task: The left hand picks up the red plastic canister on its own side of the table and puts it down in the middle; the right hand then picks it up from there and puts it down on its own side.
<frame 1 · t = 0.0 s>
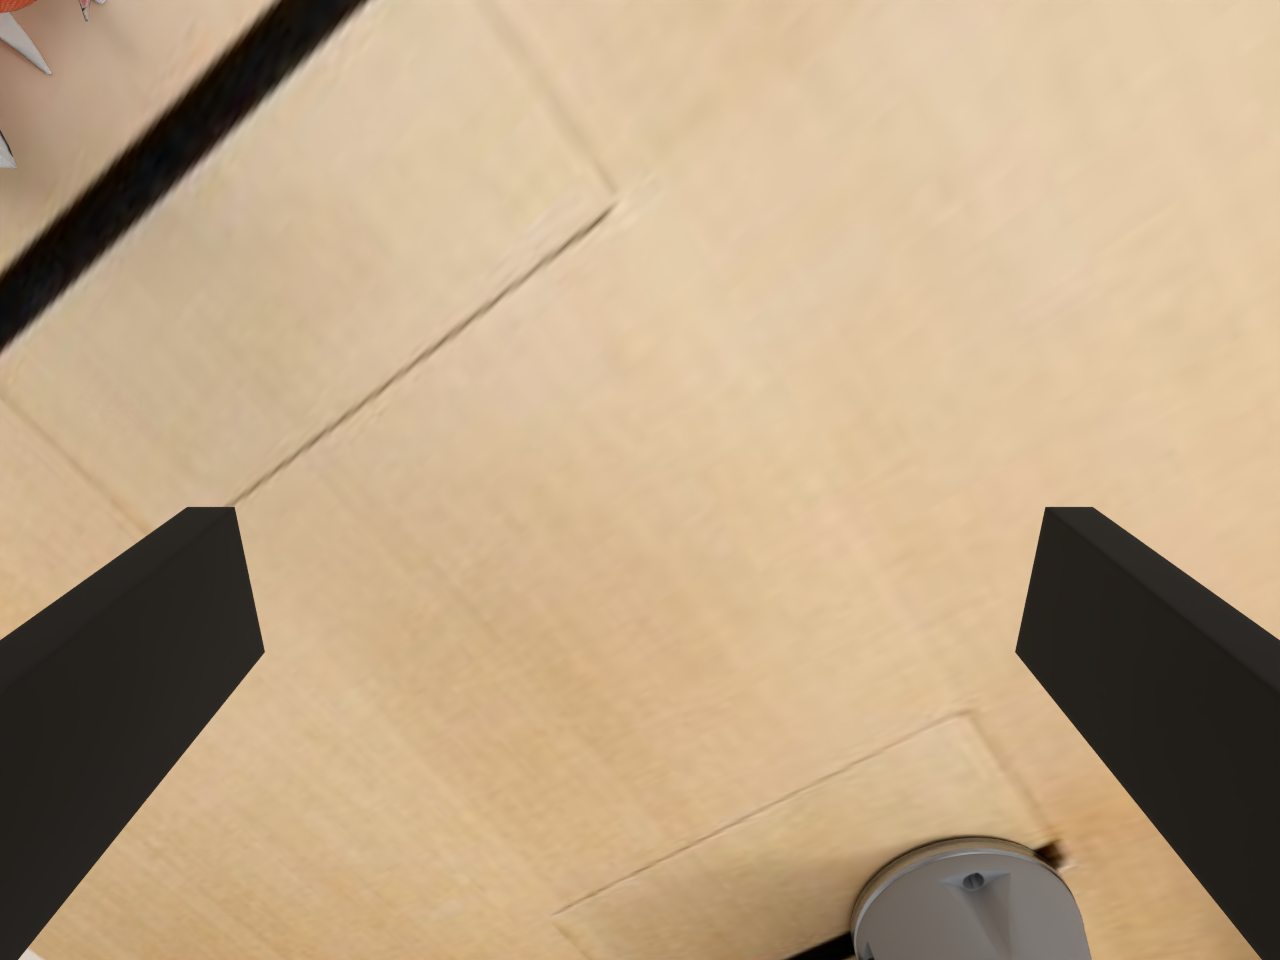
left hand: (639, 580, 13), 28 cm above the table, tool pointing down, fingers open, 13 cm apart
fish: (32, 39, 34), on the table
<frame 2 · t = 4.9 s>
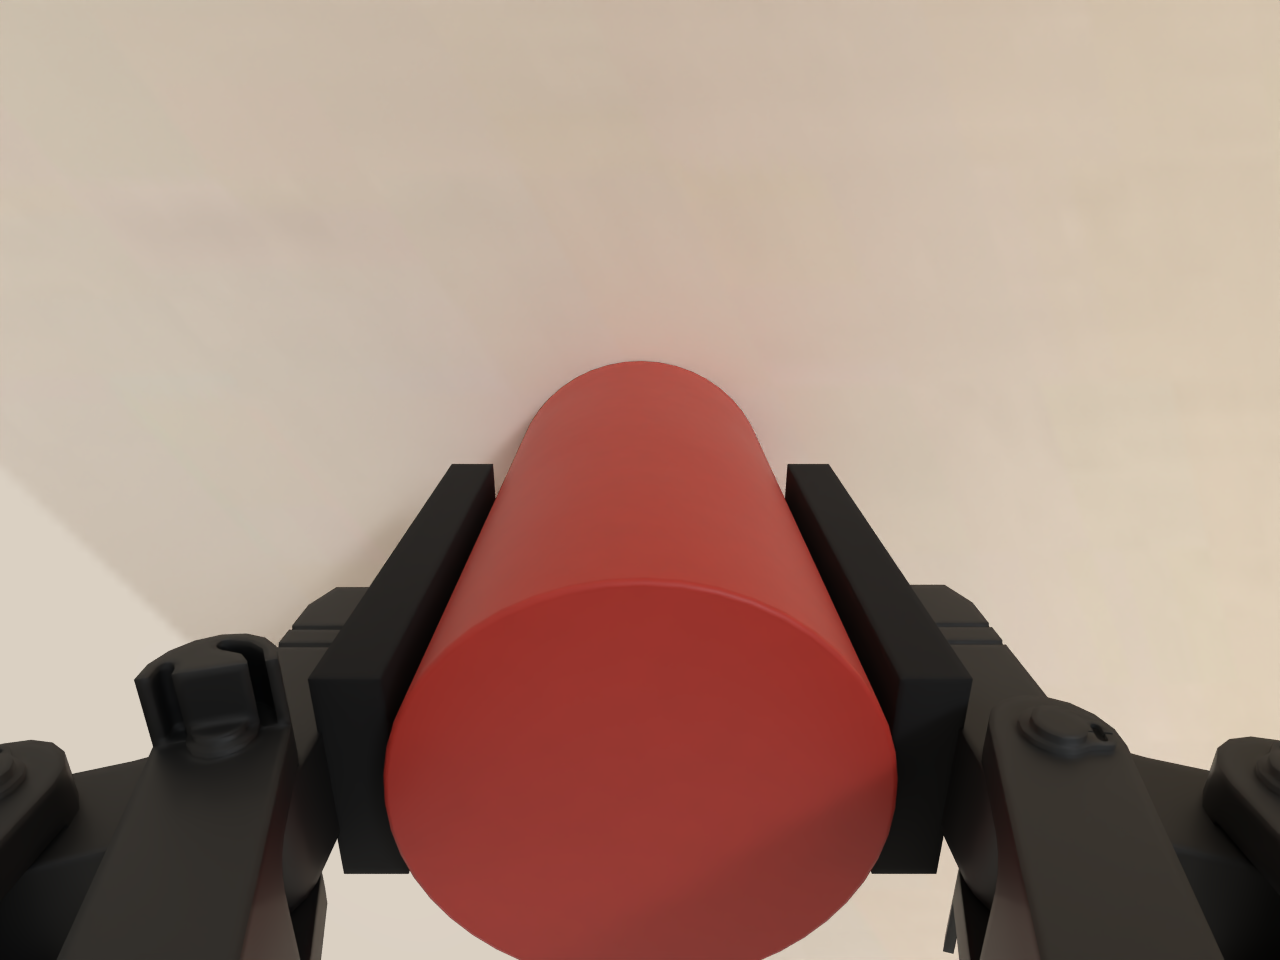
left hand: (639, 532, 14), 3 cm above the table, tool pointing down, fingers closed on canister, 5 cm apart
canister: (640, 481, 17), on the table, touching left hand
when the left hand's fingers open (4 cm above the table, at t = 13.8 s): canister drops 2 cm, on the table.
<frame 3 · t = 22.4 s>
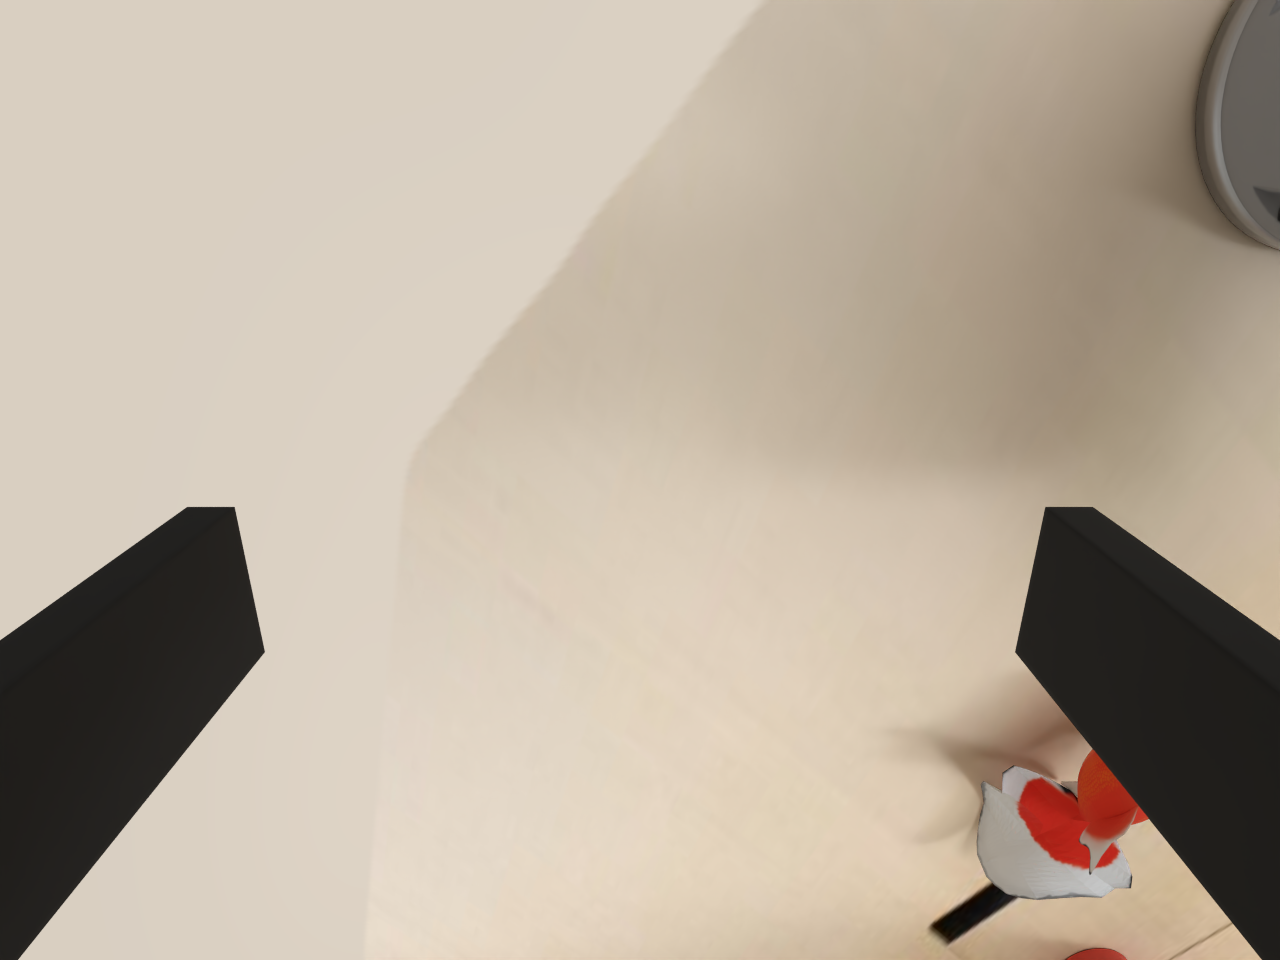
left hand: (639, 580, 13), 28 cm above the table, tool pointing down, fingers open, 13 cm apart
fish: (1050, 763, 49), on the table
when the right hand's fingers open (4 cm above the table, at t = 33.4 s): canister drops 2 cm, on the table.
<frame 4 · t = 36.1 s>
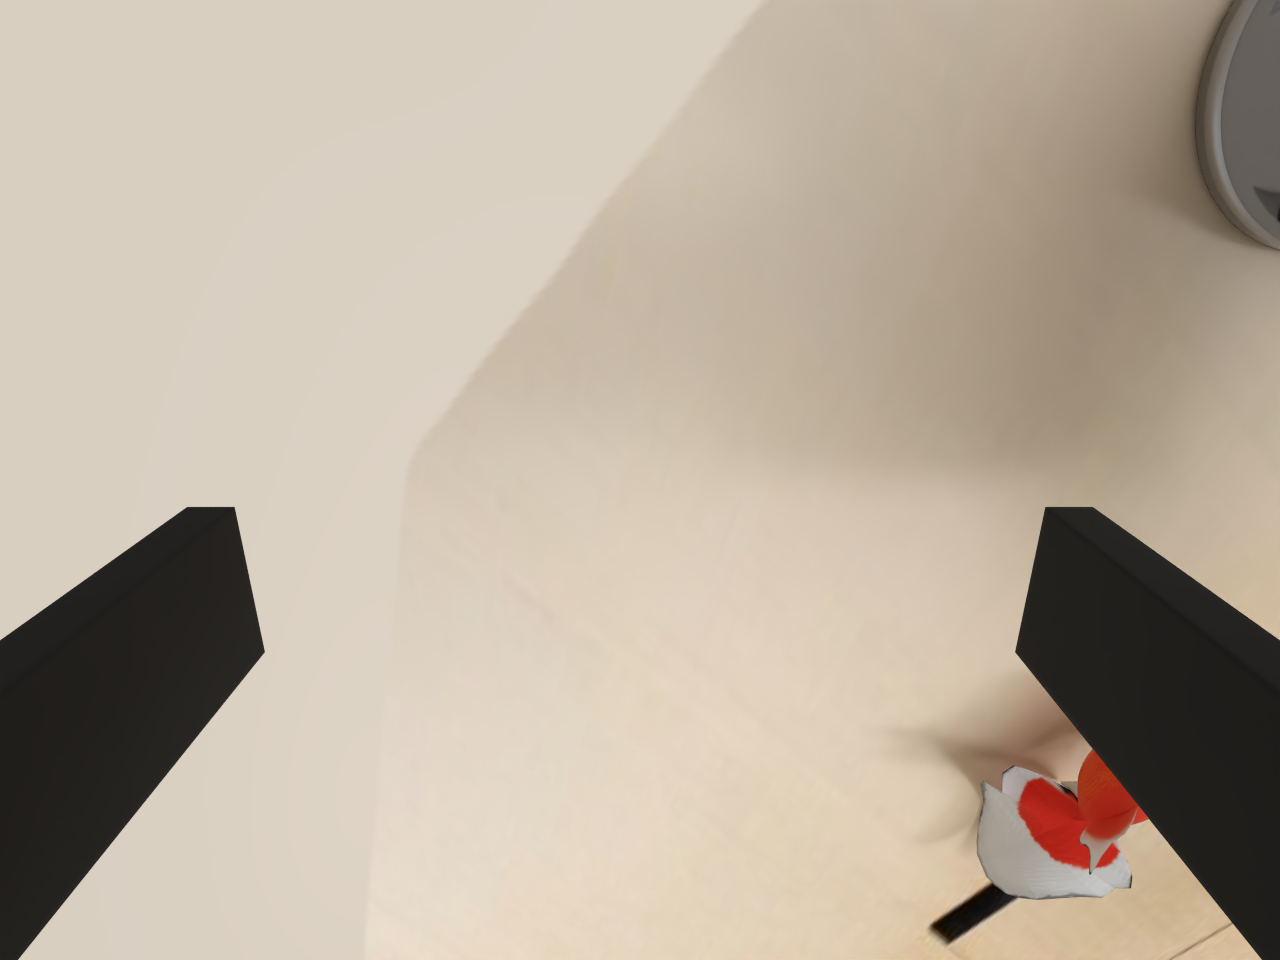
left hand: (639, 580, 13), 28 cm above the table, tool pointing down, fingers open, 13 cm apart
fish: (1050, 763, 49), on the table
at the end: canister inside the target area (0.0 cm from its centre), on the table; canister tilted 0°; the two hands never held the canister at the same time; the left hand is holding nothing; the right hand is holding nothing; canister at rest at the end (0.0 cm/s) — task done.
